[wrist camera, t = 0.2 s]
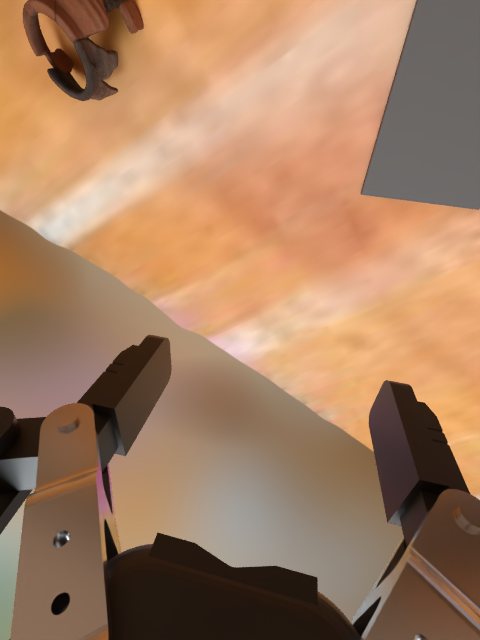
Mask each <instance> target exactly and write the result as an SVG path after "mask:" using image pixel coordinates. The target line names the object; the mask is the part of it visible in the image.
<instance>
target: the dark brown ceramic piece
mask: <svg viewBox="0 0 480 640" xmlns="http://www.w3.org/2000/svg"><path fill="white" fill-rule="evenodd" d="M114 7H117V8H118V9H119V10H120V12H121V14H122V16H123V18H124V20H125V22H126V24H127V27H128V29H129V32H130V33H132V34H133V33H136V32H137V31H138V30H141V29H143V28H144V26H143V22H142V19H141V16H140V14H139V12H138V9H137V7H136V5H135V4H134V2H133V0H29V1H27V2H26V3H25V5H24V8H23V23H24V28H25V31H26V35H27V37H28V40H29V43H30V45H31V47H32V49H33V51H34V53H35V55H36V56H42V55H45V56H46V57H47V59H48V61H49V62H50V64H51V65H52V66H53V68H51V69H48V70H47V72H48V74H49V76H50V78H51V79H52V80H53V81H54V82H55V84H56V85H57V86H58V87H59V88H61V89H62V90H63V91H64V92H65V93H66V94H68V95H69V96H70V97H72V98H75V99H78V100H81V101H86V100H89V99H90V98H91V99H95V100H102V99H104V98H105V97H108V96H110V95H113V94H115V93H117V92H118V89H117V88H114V87H111V86H109V85H108V84H107V83H106V82H104V81H103V80H104V79H107V78H108V77H109V76H110V75H111V74H112V72H113V70H114V69H115V68H116V67H117V66H118V55H117V52H116V51H114V50H111V51H106V50H105V49H104V48H102V47H100V46H98V45H97V44H95V43H94V42H93V41H91V40H90V39H89V38H88V37H89V36H91V35H93V34H95V33H98V32H101V31H106V30H107V28H108V26H109V23H110V20H109V16H108V12H110V11H111V10H112V9H113V8H114ZM38 13H42V14H45V15H47V16H48V17H50V18H51V19H52V20H54V21H55V22H56V23H57V24H58V25H59V26H60V27H61V28H62V30H63V31H64V32H65V33H66V35H67V36H68V37H69V39H70V40H71V42H72V43H73V44H74V46H75V48H76V50H77V52H78V54H79V56H80V59H81V61H82V64H83V67H84V71H85V75H86V87H85V89H82V88H81V87H80V86H79V85H78V83H77V82H76V81H75V79H74V78H73V76H72V75H71V74H70V72H71V71H72V68H73V62H72V60H71V59H70V58H69V57H68V55H67V54H66V53H65V52H64V51H63V50H62V49H56V50H55V52H50V50H49V48H48V46H47V44H46V42H45V40H44V37H43V35H42V32H41V29H40V25H39V20H38Z"/></svg>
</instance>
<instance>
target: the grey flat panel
mask: <svg viewBox="0 0 480 640" xmlns="http://www.w3.org/2000/svg"><path fill="white" fill-rule="evenodd" d="M361 195H369V196H377V197H384V198H392V199H400V200H407V201H415V202H423V203H431V204H438V205H446V206H454V207H462V208H469V209H477V210H479V208H480V0H417V2H416V5H415V9H414V12H413V15H412V19H411V22H410V26H409V29H408V33H407V36H406V40H405V43H404V46H403V50H402V53H401V57H400V60H399V64H398V67H397V70H396V74H395V77H394V81H393V84H392V88H391V91H390V95H389V98H388V101H387V105H386V108H385V112H384V115H383V119H382V122H381V125H380V129H379V132H378V136H377V139H376V143H375V146H374V150H373V153H372V156H371V160H370V163H369V167H368V170H367V174H366V177H365V180H364V184H363V187H362V191H361Z"/></svg>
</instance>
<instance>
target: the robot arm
mask: <svg viewBox="0 0 480 640" xmlns="http://www.w3.org/2000/svg"><path fill="white" fill-rule="evenodd" d="M170 375H171V354H170V342H169V339H168V338H164V337H159V336H154V335H148V336H147V337H146V338H145V339H144V340H143V341H142V343H141V344H140V345H139V346H135V345H132V346H131V347H129V348H127V349H126V350H124V351H122V352H121V353H120V354H119V355H118V356H117V357H116V358H115V360H114V361H113V363H112V364H110V365H109V367H108V368H107V369H106V371H105V372H103V373H102V375H101V376H100V377H99V378H98V379H97V380H96V382H95V383H94V384H93V385H92V386H91V387H90V388H89V389H88V391H87V392H86V393H85V394H84V395H83V396H82V398H81V399H80V400H79V401H78V402H77V403H73V404H68V405H65V406H62V407H60V408H58V409H56V410H54V411H53V412H51V413H50V414H49V415H48V416H47V417H40V418H25V419H16V417H15V415H14V414H13V411H12V410H10V409H9V408H6V407H0V534H1V533H2V531H3V530H4V528H5V527H6V526H7V524H8V523H9V521H10V520H11V519H12V517H13V516H14V515H15V513H16V512H17V510H18V509H19V508H20V506H21V505H22V503H23V502H24V501H25V499H26V498H27V499H26V502H25V508H24V516H23V526H22V535H21V545H20V554H19V563H18V573H17V582H16V593H15V601H14V611H13V620H12V629H11V639H9V640H480V500H479V499H477V498H476V497H474V496H473V495H471V494H470V492H469V490H468V488H467V486H466V483H465V481H464V479H463V476H462V474H461V472H460V469H459V467H458V465H457V463H456V460H455V458H454V456H453V453H452V451H451V449H450V446H449V445H447V443H448V442H447V440H446V437H445V435H444V433H442V431H443V430H442V428H441V426H440V423H439V421H438V419H437V416H436V415H435V414H434V413H433V412H432V411H431V410H430V408H429V407H428V406H427V405H426V404H425V403H423V402H418V401H417V400H416V397H415V394H414V392H413V389H412V387H411V386H410V385H409V384H404V383H398V382H393V381H388V380H386V381H384V383H383V384H382V386H381V389H380V391H379V393H378V395H377V397H376V399H375V401H374V404H373V406H372V408H371V411H370V415H369V428H370V433H371V439H372V444H373V449H374V454H375V460H376V465H377V470H378V475H379V481H380V486H381V491H382V496H383V501H384V506H385V512H386V517H387V522H388V523H391V524H395V525H399V526H402V530H403V535H404V537H403V539H402V540H401V541H400V543H399V545H398V547H397V548H396V550H395V551H394V553H393V555H392V556H391V558H390V560H389V562H388V563H387V565H386V567H385V568H384V570H383V572H382V573H381V575H380V577H379V578H378V580H377V582H376V584H375V585H374V587H373V589H372V590H371V592H370V593H369V595H368V596H367V598H366V599H365V601H364V602H363V603H362V605H361V606H360V608H359V609H358V611H357V612H356V614H355V615H354V617H353V618H352V620H351V622H350V621H349V620H348V619H347V618H346V616H345V615H344V614H343V613H342V612H341V611H340V609H338V607H337V606H335V604H334V603H332V602H331V601H330V600H329V599H328V598H326V597H325V596H324V595H323V594H321V593H320V592H318V591H317V577H314V576H310V575H306V574H303V573H299V572H296V571H292V570H289V569H285V568H281V567H278V566H263V567H241V568H234V567H231V566H229V565H227V564H226V563H224V562H222V561H221V560H220V559H218V558H217V557H215V556H213V555H212V554H211V553H209V552H207V551H206V550H204V549H203V548H201V547H200V546H198V545H197V544H195V543H192V542H189V541H186V540H182V539H178V538H175V537H171V536H168V535H164V534H161V533H157V536H156V538H155V541H154V543H153V544H148V545H143V546H138V547H135V548H132V549H129V550H126V551H124V552H122V553H121V547H120V541H119V536H118V530H117V525H116V519H115V511H114V503H113V495H112V487H111V478H110V470H109V464H108V463H109V462H110V460H111V458H112V457H113V455H114V454H119V455H123V456H126V455H127V453H128V451H129V450H130V448H131V446H132V444H133V442H134V441H135V439H136V437H137V435H138V434H139V432H140V430H141V429H142V427H143V425H144V424H145V422H146V420H147V418H148V417H149V415H150V413H151V411H152V410H153V408H154V406H155V404H156V403H157V401H158V399H159V398H160V396H161V394H162V392H163V391H164V389H165V387H166V385H167V384H168V381H169V379H170ZM32 489H35V492H34V493H32V494H30V492H31V491H32ZM27 496H28V497H27Z"/></svg>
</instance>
